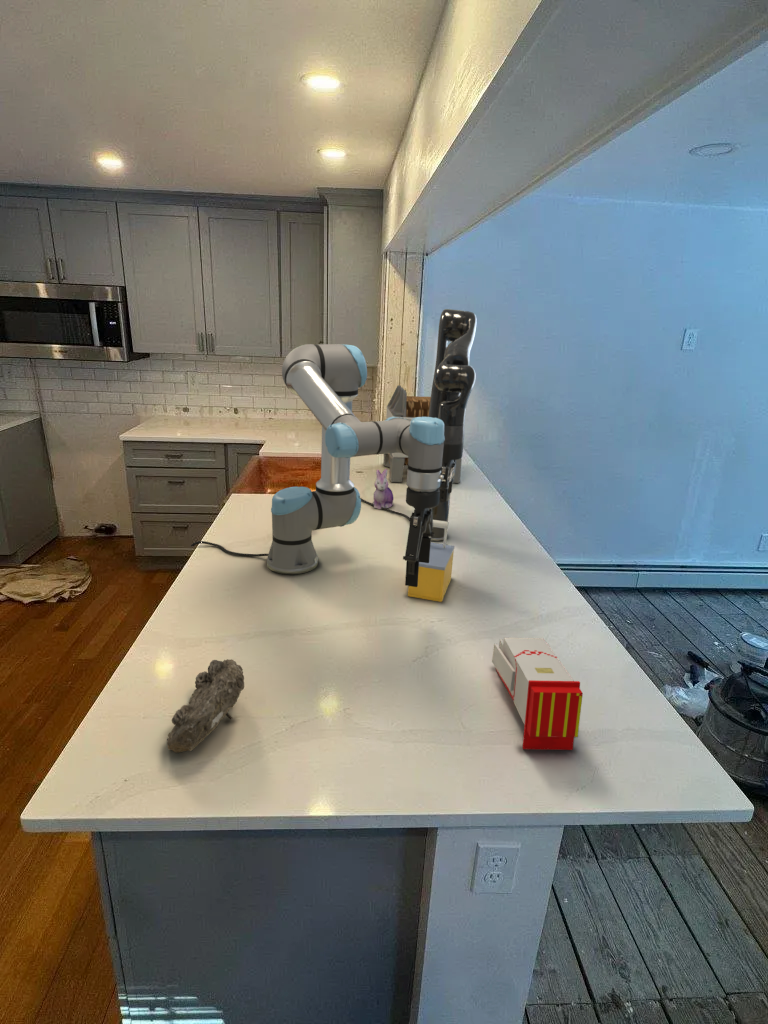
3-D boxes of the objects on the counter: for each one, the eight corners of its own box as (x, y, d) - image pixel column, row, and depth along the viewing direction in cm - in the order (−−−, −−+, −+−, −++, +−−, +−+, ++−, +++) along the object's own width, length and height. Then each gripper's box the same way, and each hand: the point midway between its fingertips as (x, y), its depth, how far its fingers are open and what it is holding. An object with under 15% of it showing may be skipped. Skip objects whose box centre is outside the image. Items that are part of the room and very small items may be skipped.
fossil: (192, 660, 117) (244, 628, 112) (224, 691, 120) (276, 661, 115) (142, 746, 98) (202, 712, 93) (182, 779, 101) (242, 748, 96)
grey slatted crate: (382, 463, 289) (386, 382, 275) (445, 464, 293) (451, 384, 279) (390, 482, 257) (394, 392, 243) (460, 483, 261) (468, 394, 247)
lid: (422, 543, 168) (424, 515, 165) (454, 548, 166) (456, 520, 163) (409, 564, 154) (411, 534, 151) (444, 570, 151) (447, 539, 148)
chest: (419, 573, 170) (421, 544, 167) (451, 579, 168) (453, 549, 165) (407, 596, 157) (409, 565, 154) (441, 602, 154) (444, 570, 151)
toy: (540, 621, 128) (592, 689, 99) (535, 675, 131) (584, 757, 102) (487, 620, 128) (523, 687, 98) (483, 674, 130) (517, 756, 101)
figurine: (377, 511, 221) (379, 474, 216) (366, 503, 229) (367, 467, 224) (399, 508, 225) (401, 471, 220) (387, 500, 233) (388, 465, 228)
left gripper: (429, 506, 115) (422, 599, 122) (448, 475, 137) (442, 555, 145) (393, 501, 116) (388, 594, 124) (418, 471, 139) (413, 551, 146)
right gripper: (459, 447, 146) (454, 506, 152) (467, 436, 159) (461, 491, 165) (431, 444, 148) (427, 502, 154) (440, 433, 161) (436, 488, 167)
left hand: (417, 573), depth 134 cm, fingers open, 13 cm apart
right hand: (445, 496), depth 159 cm, fingers open, 8 cm apart
